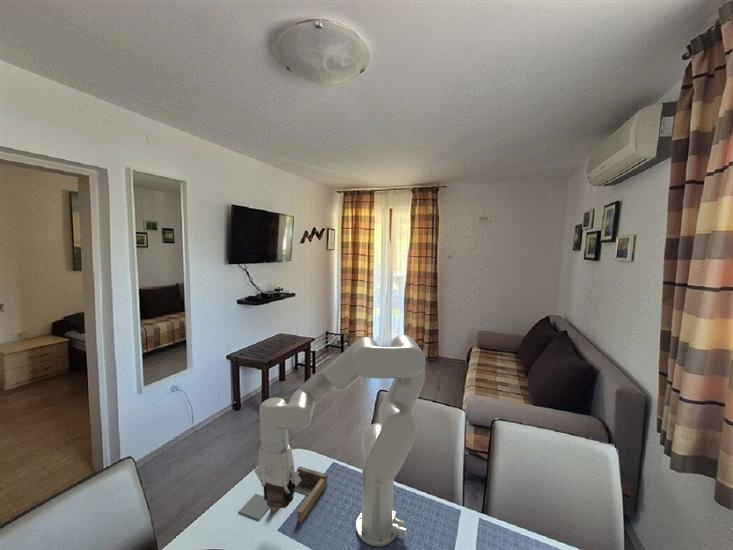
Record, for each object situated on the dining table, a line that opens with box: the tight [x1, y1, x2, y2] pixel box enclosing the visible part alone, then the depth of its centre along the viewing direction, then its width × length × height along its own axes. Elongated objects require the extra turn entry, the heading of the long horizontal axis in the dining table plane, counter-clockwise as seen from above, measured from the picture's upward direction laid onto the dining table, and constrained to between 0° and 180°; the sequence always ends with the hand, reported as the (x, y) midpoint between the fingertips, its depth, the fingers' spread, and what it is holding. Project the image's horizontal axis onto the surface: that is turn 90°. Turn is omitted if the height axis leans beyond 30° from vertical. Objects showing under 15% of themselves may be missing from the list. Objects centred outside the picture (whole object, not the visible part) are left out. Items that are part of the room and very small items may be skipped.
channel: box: [269, 465, 328, 524], centre depth 106 cm, size 12×17×4 cm
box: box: [265, 479, 295, 509], centre depth 93 cm, size 6×6×7 cm
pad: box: [238, 493, 270, 521], centre depth 102 cm, size 8×8×1 cm
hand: (278, 499), depth 92 cm, fingers closed on box, 6 cm apart
